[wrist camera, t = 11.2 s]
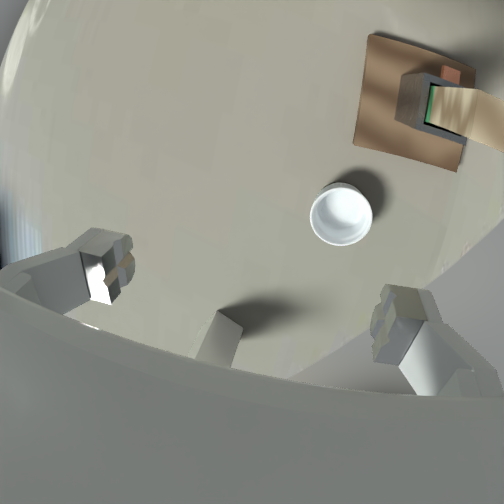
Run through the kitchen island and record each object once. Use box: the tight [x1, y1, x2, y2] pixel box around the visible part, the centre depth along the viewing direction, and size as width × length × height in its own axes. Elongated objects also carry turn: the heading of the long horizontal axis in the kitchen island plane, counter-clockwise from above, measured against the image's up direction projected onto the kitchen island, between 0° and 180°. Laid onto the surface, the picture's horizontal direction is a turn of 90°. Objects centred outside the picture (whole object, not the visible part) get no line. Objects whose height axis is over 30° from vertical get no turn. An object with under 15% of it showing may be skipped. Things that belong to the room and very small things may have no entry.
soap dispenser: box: [187, 311, 243, 368], centre depth 54 cm, size 6×9×22 cm
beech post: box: [424, 86, 504, 153], centre depth 23 cm, size 4×4×15 cm
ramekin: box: [310, 183, 373, 246], centre depth 44 cm, size 9×9×4 cm
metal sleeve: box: [394, 65, 467, 145], centre depth 29 cm, size 8×6×10 cm
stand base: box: [353, 34, 476, 172], centre depth 35 cm, size 16×16×2 cm
